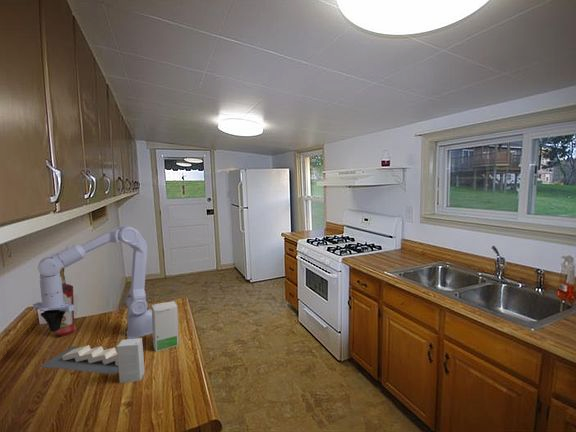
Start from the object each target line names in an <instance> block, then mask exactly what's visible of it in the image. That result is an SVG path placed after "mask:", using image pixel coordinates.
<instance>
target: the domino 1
mask: <svg viewBox="0 0 576 432" xmlns="http://www.w3.org/2000/svg"><path fill="white" fill-rule="evenodd" d="M79 347H80V346H79ZM90 348H91V346H90V344H87V345H85V346H81V347H80V348H76V349H73V350H71V351H70V352H68V353H67V354H65V355H63V356H62V358H63V361H65V360H68V359H72V358H75V357H79V356H81V355H83V354H84V353H86V352H87V351H89V350H90Z"/></svg>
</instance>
